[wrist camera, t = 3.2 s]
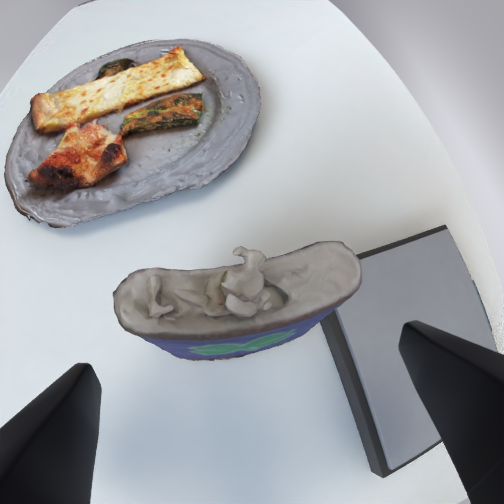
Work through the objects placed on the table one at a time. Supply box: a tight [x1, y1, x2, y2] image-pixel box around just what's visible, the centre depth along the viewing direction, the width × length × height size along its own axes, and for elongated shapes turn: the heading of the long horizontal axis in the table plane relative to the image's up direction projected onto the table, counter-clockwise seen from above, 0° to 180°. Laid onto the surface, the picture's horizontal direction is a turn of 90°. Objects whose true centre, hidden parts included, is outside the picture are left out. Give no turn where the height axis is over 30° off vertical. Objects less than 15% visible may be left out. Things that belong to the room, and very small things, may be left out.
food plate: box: [4, 39, 261, 228], centre depth 23 cm, size 25×23×4 cm
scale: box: [320, 225, 498, 478], centre depth 17 cm, size 14×12×2 cm
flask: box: [113, 241, 362, 361], centre depth 13 cm, size 9×3×11 cm, turn 101°
